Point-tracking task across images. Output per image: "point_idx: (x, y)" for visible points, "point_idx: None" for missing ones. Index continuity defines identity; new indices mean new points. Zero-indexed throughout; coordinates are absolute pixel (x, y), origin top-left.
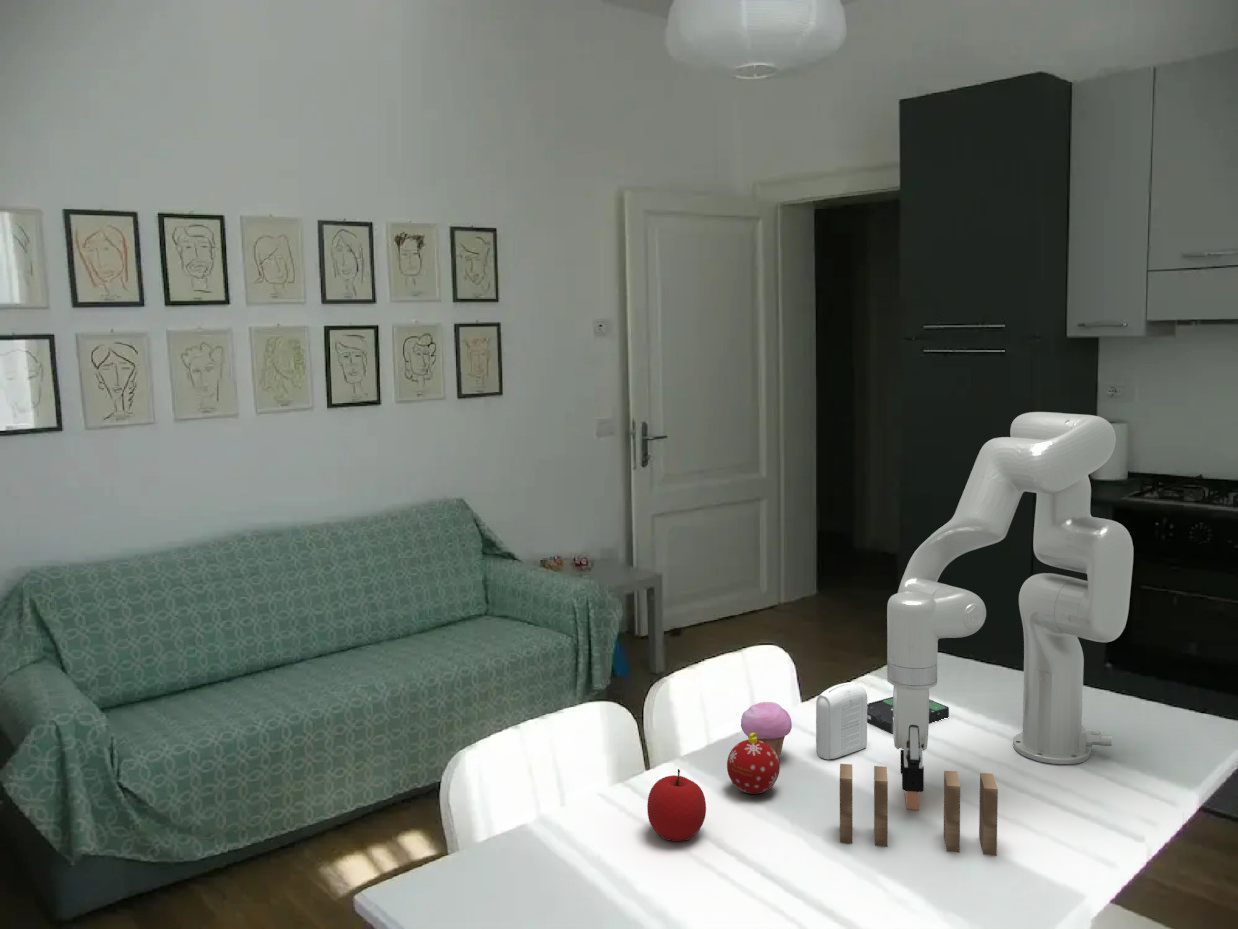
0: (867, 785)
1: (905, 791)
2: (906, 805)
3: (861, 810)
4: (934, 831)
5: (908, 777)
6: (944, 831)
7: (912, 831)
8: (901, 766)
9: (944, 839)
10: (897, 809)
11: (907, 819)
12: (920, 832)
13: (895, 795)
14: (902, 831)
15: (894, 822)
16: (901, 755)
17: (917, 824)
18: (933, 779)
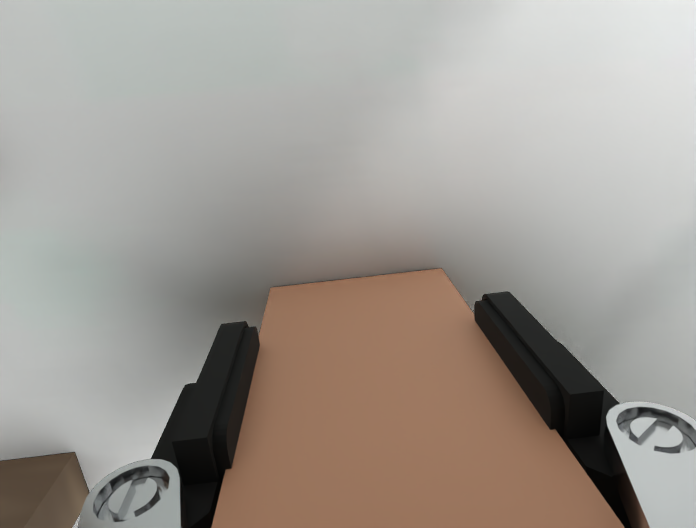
0: (532, 38)
1: (414, 284)
2: (301, 286)
3: (168, 29)
4: (87, 417)
5: (167, 432)
6: (3, 488)
7: (37, 328)
8: (500, 323)
9: (24, 459)
10: (257, 241)
11: (159, 297)
12: (46, 363)
13: (426, 218)
14: (12, 283)
15: (96, 237)
16: (544, 375)
17: (125, 345)
18: (639, 382)
